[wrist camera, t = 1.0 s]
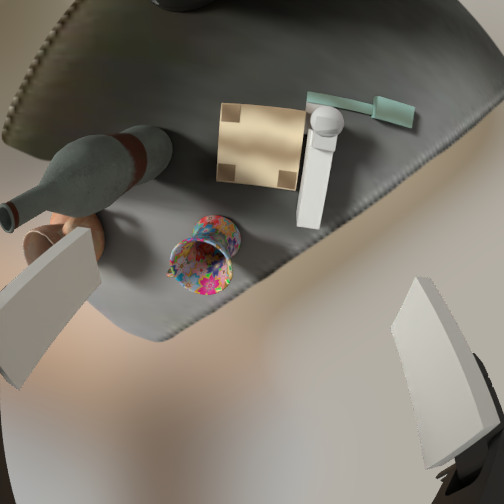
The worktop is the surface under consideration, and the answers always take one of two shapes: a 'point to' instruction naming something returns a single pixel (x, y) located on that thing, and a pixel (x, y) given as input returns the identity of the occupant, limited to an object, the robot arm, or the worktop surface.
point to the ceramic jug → (61, 235)
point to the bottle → (92, 175)
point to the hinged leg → (317, 165)
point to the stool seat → (282, 137)
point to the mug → (206, 256)
